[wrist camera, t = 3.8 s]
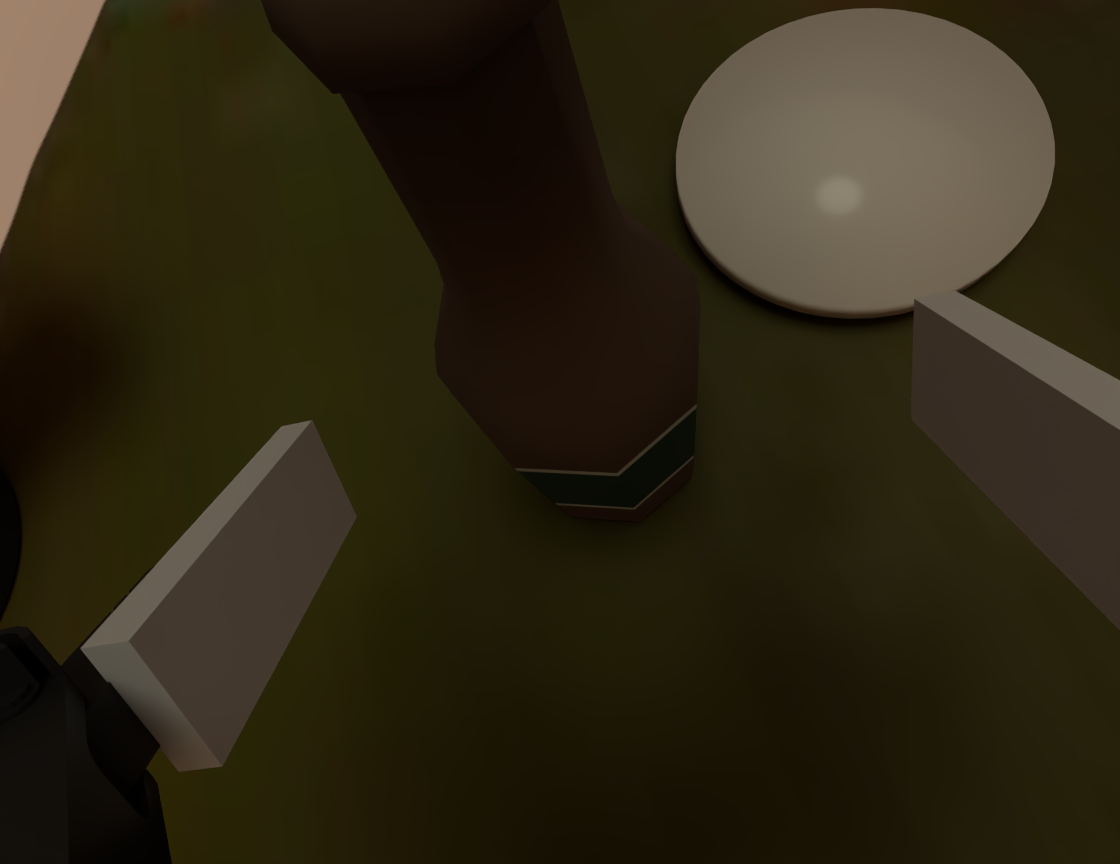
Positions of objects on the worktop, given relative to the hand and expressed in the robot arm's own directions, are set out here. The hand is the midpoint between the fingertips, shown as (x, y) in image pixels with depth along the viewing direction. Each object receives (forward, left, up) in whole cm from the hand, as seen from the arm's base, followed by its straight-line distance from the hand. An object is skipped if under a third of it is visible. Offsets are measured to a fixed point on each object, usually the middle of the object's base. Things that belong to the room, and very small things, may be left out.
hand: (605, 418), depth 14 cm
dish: (-6, +18, -15) cm, 24 cm away
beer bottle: (-3, +1, -15) cm, 16 cm away
